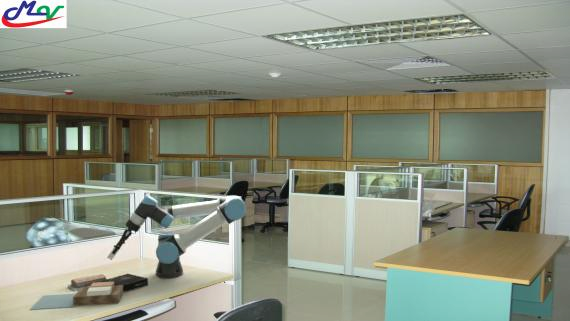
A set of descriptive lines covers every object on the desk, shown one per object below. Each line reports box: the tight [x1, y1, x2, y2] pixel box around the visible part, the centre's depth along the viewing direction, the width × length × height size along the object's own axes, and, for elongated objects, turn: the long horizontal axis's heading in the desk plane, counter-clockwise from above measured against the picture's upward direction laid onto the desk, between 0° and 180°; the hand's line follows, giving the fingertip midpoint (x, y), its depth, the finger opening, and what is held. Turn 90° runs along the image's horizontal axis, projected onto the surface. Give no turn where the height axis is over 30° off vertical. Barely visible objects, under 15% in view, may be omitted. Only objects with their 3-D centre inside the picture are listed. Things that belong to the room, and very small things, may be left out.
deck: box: [73, 285, 124, 307], centre depth 235 cm, size 20×15×4 cm
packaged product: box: [67, 273, 107, 292], centre depth 257 cm, size 18×5×10 cm
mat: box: [29, 293, 76, 311], centre depth 232 cm, size 18×20×1 cm
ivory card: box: [87, 286, 112, 296], centre depth 231 cm, size 10×6×2 cm, turn 100°
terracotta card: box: [90, 282, 114, 289], centre depth 239 cm, size 10×6×2 cm, turn 100°
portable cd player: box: [101, 273, 149, 294], centre depth 256 cm, size 16×17×4 cm
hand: (111, 255), depth 258 cm, fingers open, 13 cm apart
